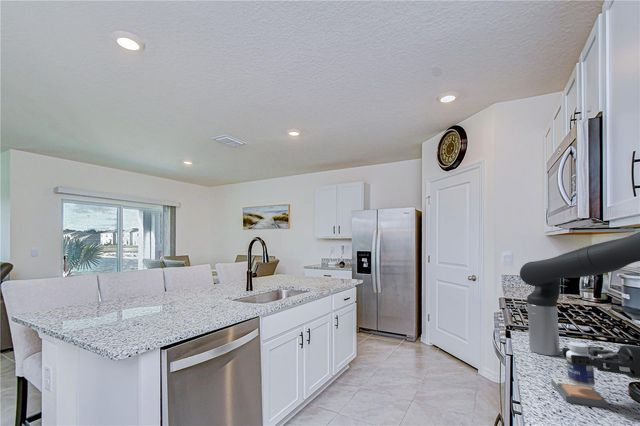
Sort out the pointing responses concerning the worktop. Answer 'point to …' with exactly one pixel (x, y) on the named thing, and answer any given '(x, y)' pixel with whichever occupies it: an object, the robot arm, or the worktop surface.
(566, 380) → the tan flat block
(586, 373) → the pill bottle
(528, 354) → the worktop surface
